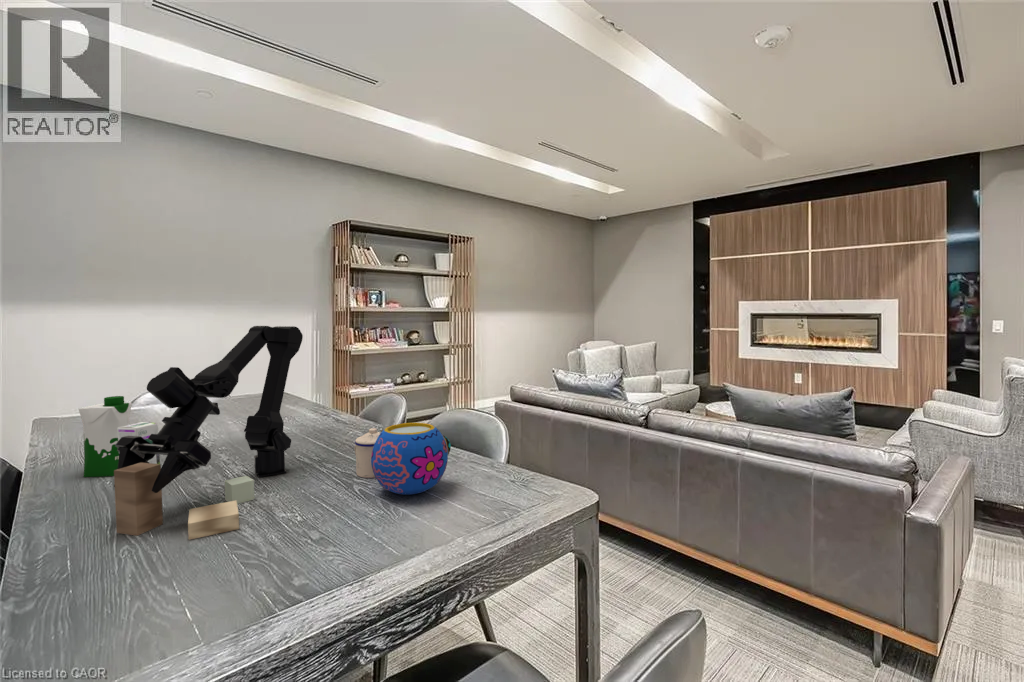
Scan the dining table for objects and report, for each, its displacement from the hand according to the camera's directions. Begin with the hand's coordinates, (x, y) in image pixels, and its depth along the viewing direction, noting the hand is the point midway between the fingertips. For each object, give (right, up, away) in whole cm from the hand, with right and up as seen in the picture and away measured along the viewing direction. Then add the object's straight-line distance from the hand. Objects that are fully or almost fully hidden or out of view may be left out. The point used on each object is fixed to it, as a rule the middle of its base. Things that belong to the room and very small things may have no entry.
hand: (135, 490), depth 89 cm
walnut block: (0, -8, +1) cm, 8 cm away
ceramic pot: (+48, -7, +21) cm, 53 cm away
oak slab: (+14, -8, +2) cm, 16 cm away
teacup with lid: (+35, -6, +34) cm, 49 cm away
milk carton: (-35, -6, +34) cm, 49 cm away
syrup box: (-20, -7, +27) cm, 35 cm away
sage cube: (+11, -7, +15) cm, 20 cm away
